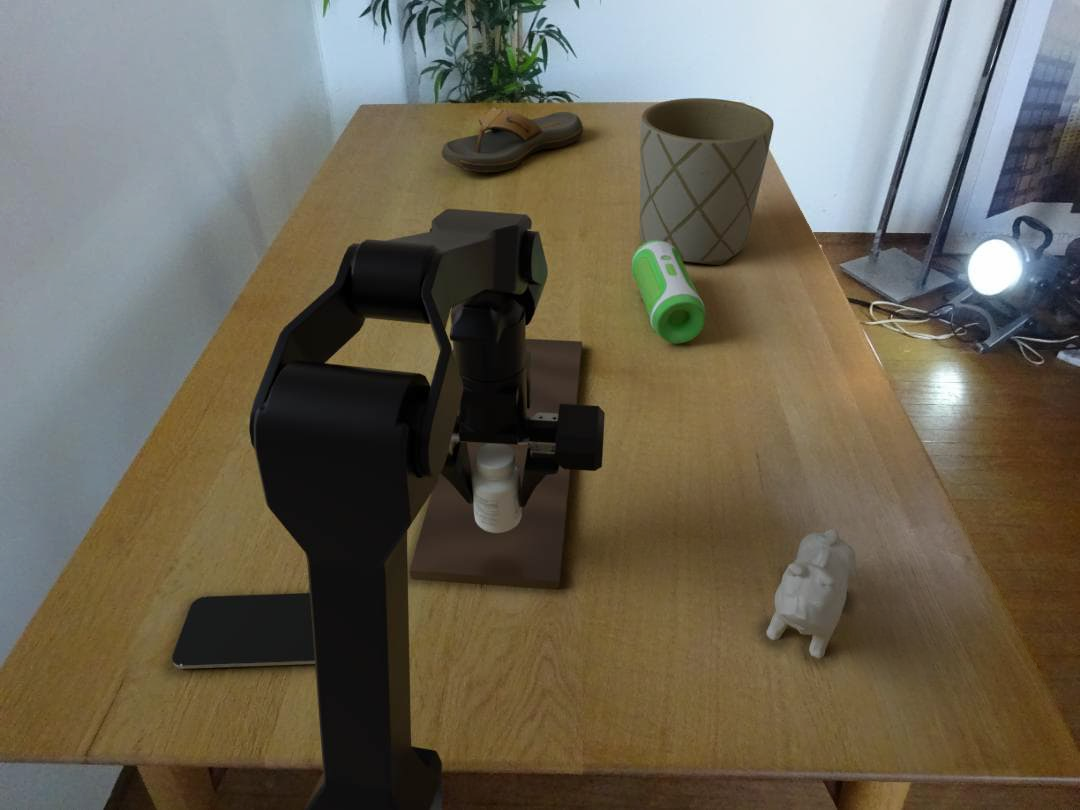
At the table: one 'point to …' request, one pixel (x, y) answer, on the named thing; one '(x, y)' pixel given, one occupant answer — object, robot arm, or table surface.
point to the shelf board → (537, 540)
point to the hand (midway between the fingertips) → (497, 502)
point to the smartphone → (246, 632)
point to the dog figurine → (814, 589)
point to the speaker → (668, 292)
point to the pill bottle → (496, 489)
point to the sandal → (511, 139)
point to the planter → (701, 175)
